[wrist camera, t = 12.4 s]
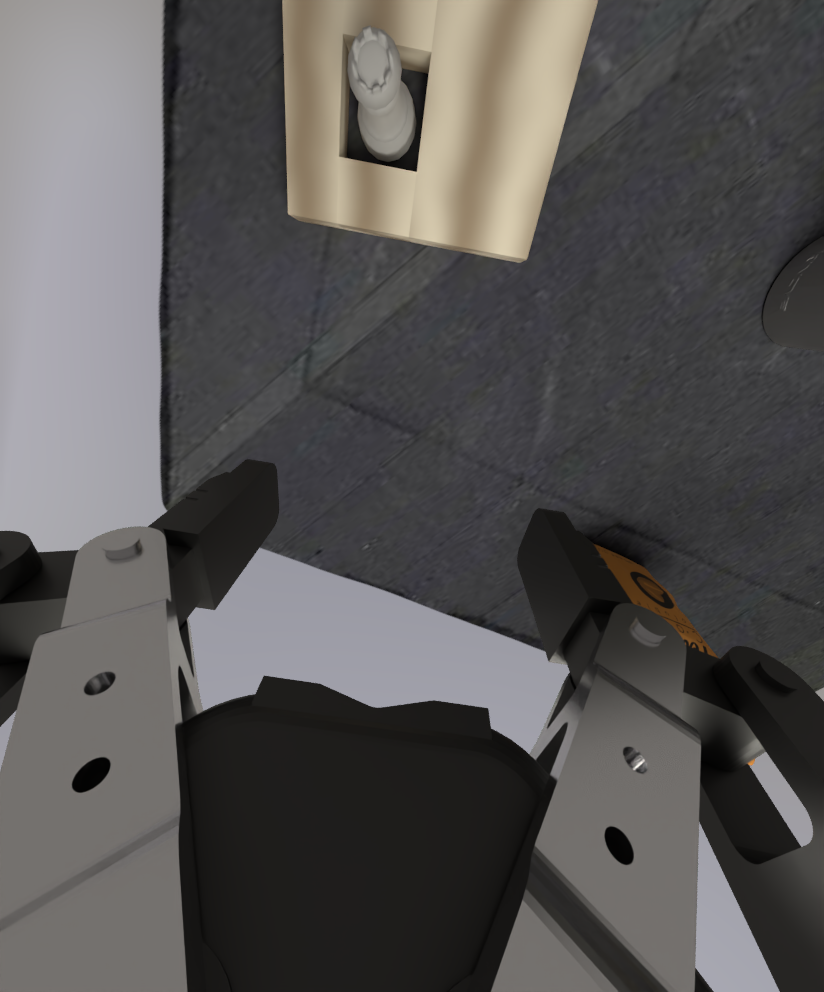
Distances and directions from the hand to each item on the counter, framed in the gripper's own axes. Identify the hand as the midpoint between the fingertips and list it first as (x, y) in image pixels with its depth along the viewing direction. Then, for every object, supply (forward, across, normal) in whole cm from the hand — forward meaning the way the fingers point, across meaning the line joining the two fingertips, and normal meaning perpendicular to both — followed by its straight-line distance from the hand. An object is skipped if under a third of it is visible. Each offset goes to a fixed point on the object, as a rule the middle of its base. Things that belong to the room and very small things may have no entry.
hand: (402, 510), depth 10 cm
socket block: (+28, +3, -17) cm, 33 cm away
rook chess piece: (+28, +6, -17) cm, 34 cm away
